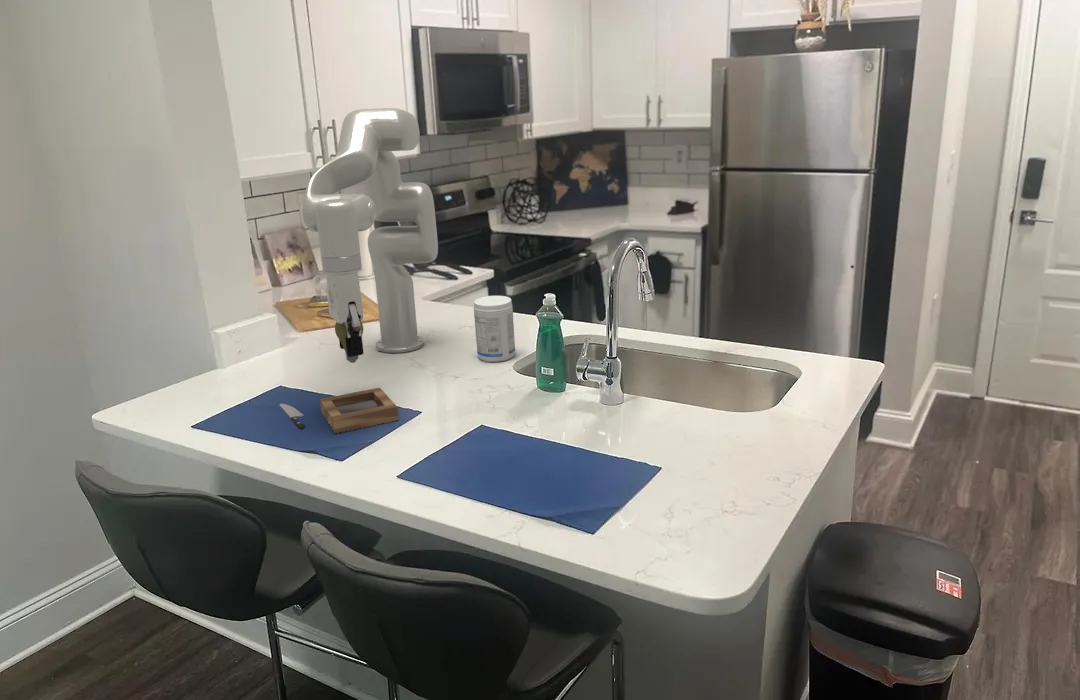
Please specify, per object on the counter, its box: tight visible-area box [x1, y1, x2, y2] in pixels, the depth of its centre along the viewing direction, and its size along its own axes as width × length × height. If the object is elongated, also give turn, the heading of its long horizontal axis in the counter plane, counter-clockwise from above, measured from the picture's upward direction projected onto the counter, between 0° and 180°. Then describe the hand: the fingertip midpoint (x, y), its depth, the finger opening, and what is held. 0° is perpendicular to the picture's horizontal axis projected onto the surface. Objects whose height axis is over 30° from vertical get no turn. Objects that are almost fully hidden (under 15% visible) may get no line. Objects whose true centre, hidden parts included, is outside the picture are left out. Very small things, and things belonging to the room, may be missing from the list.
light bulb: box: [334, 319, 364, 364], centre depth 163 cm, size 6×6×10 cm
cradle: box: [319, 387, 400, 434], centre depth 168 cm, size 13×13×3 cm
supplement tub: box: [473, 295, 516, 363], centre depth 200 cm, size 10×10×15 cm
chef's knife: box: [279, 403, 306, 430], centre depth 171 cm, size 19×1×3 cm
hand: (351, 350), depth 164 cm, fingers closed on light bulb, 5 cm apart
